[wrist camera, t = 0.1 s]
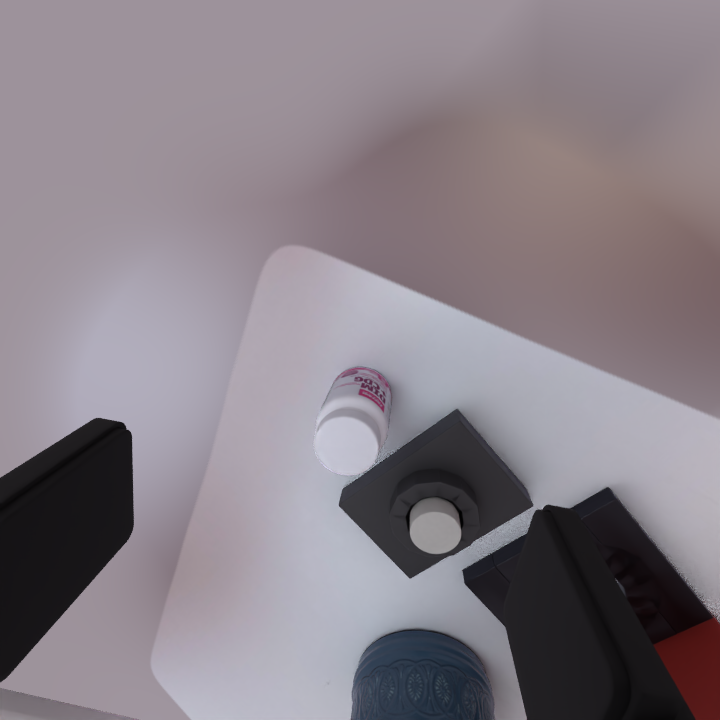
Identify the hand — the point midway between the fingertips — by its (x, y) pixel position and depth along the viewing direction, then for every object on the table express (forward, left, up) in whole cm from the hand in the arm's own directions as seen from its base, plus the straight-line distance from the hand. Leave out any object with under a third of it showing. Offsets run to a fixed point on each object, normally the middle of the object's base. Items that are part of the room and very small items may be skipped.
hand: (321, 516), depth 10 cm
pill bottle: (+5, +4, -23) cm, 24 cm away
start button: (+6, +14, -19) cm, 25 cm away
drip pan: (+2, +29, -23) cm, 37 cm away
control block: (+6, +14, -23) cm, 28 cm away
